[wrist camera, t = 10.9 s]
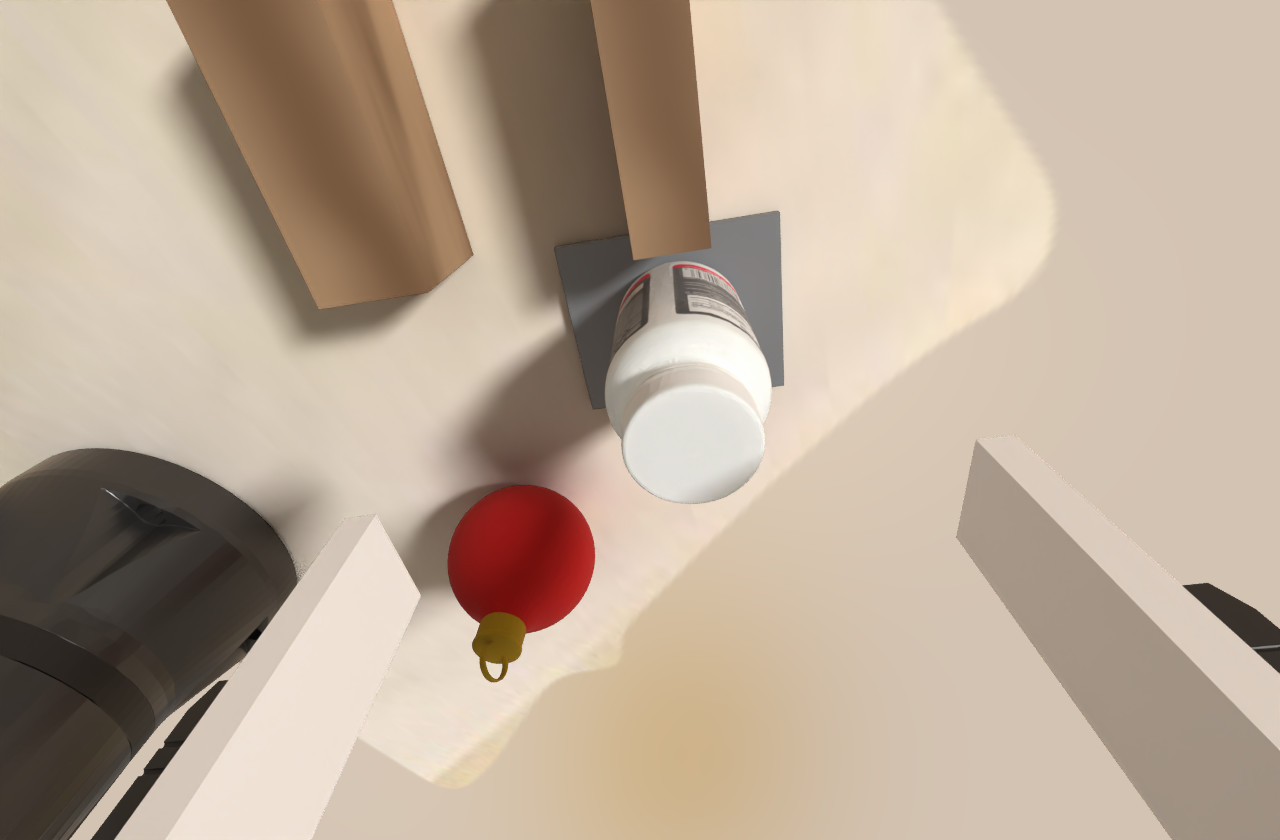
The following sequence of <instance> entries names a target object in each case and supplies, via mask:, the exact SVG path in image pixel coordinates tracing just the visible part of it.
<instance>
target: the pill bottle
mask: <svg viewBox="0 0 1280 840" xmlns="http://www.w3.org/2000/svg"><path fill="white" fill-rule="evenodd" d="M771 395H772V385H771V378H770V372H769V368H768V365H767V362H766V359H765V356H764V354H763V353H762V351H761V349H760V347H759V344H758V342H757V339H756V337H755V335H754V332H753V330H752V327H751V325H750V322H749V320H748V318H747V315H746V313H745V310H744V308H743V305H742V303H741V301H740V299H739V297H738V295H737V293H736V291H735V289H734V288H733V286H732V285H731V284H730V282H729V281H728V280H727V279H726V278H725V277H724V276H723V275H721V274H720V273H719V272H717V271H716V270H714V269H712V268H710V267H708V266H705V265H703V264H700V263H695V262H688V261H677V262H669V263H665V264H662V265H659V266H657V267H655V268H652V269H650V270H649V271H647V272H646V273H644V274H643V275H641V276H640V277H639V278H638V279H637V280H636V281H635V282H634V283H633V284H632V285H631V287H630V288H629V290H628V291H627V292H626V294H625V296H624V298H623V301H622V303H621V306H620V309H619V313H618V317H617V322H616V327H615V333H614V339H613V346H612V352H611V357H610V362H609V366H608V371H607V376H606V383H605V403H606V409H607V413H608V417H609V419H610V422H611V424H612V426H613V428H614V430H615V432H616V433H617V435H618V436H619V437H620V438H621V440H622V442H621V446H622V454H623V459H624V462H625V465H626V467H627V469H628V471H629V473H630V474H631V476H632V477H633V478H634V480H635V481H636V482H637V483H638V484H639V485H640V486H641V487H642V488H644V489H645V490H647V491H648V492H649V493H651V494H653V495H655V496H657V497H659V498H661V499H664V500H667V501H671V502H675V503H684V504H698V503H706V502H711V501H715V500H718V499H721V498H724V497H726V496H728V495H730V494H731V493H733V492H735V491H737V490H738V489H739V488H741V487H742V486H743V485H744V484H745V483H747V482H748V481H749V479H750V478H751V477H752V476H753V475H754V473H755V472H756V470H757V469H758V467H759V465H760V463H761V460H762V458H763V454H764V448H765V435H764V429H763V424H764V422H765V419H766V417H767V415H768V412H769V408H770V403H771Z"/></svg>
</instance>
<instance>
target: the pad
mask: <svg viewBox="0 0 1280 840" xmlns="http://www.w3.org/2000/svg"><path fill="white" fill-rule="evenodd" d="M709 225H710V236H711V247H712V248H710V249H703V250H697V251H690V252H684V253H677V254H671V255H665V256H658V257H652V258H645V259H639V260H633V254H632V248H631V242H630V236H629V235H624V236H618V237H612V238H606V239H600V240H593V241H587V242H581V243H575V244H569V245H562V246H556V247H555V248H554V250H555V254H556V259H557V263H558V267H559V271H560V275H561V279H562V284H563V288H564V292H565V296H566V300H567V304H568V309H569V313H570V317H571V321H572V325H573V329H574V334H575V338H576V342H577V346H578V350H579V354H580V358H581V363H582V367H583V371H584V375H585V379H586V383H587V388H588V392H589V396H590V400H591V404H592V408H593V409H601V408H606V403H605V383H606V376H607V371H608V366H609V362H610V357H611V352H612V346H613V339H614V333H615V327H616V322H617V317H618V313H619V309H620V306H621V303H622V301H623V298H624V296H625V294H626V292H627V291H628V290H629V288H630V287H631V285H632V284H633V283H634V282H635V281H636V280H637V279H638V278H639V277H640V276H641V275H643V274H644V273H646V272H647V271H649V270H650V269H652V268H655V267H657V266H659V265H662V264H665V263H669V262H677V261H688V262H695V263H700V264H703V265H705V266H708V267H710V268H712V269H714V270H716V271H717V272H719V273H720V274H721V275H723V276H724V277H725V278H726V279H727V280H728V281H729V282H730V284H731V285H732V286H733V288H734V289H735V291H736V293H737V295H738V297H739V299H740V301H741V303H742V305H743V308H744V310H745V313H746V315H747V318H748V320H749V322H750V325H751V327H752V330H753V332H754V335H755V337H756V339H757V342H758V344H759V347H760V349H761V351H762V353H763V354H764V356H765V359H766V362H767V365H768V368H769V372H770V378H771V385H772V387H776V386H784V364H783V322H782V280H781V238H780V212H779V211H773V212H767V213H760V214H754V215H748V216H742V217H736V218H729V219H723V220H717V221H711V222H709Z"/></svg>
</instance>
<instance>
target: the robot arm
mask: <svg viewBox="0 0 1280 840" xmlns="http://www.w3.org/2000/svg"><path fill="white" fill-rule="evenodd" d="M956 538H957V539H958V540H959V542H960V543H961V545H962V546H963V547H964V549H965V550H966V552H967V553H968V554H969V556H970V557H971V559H972V560H973V561H974V563H975V564H976V566H977V567H978V568H979V570H980V571H981V573H982V574H983V575H984V577H985V578H986V579H987V581H988V582H989V584H990V585H991V587H992V588H993V589H994V591H995V592H996V594H997V595H998V596H999V598H1000V599H1001V601H1002V602H1003V603H1004V605H1005V606H1006V608H1007V609H1008V610H1009V612H1010V613H1011V614H1012V616H1013V617H1014V619H1015V620H1016V622H1017V623H1018V624H1019V626H1020V627H1021V629H1022V630H1023V631H1024V633H1025V634H1026V636H1027V637H1028V638H1029V640H1030V641H1031V643H1032V644H1033V645H1034V647H1035V648H1036V650H1037V651H1038V652H1039V654H1040V655H1041V657H1042V658H1043V659H1044V661H1045V662H1046V664H1047V665H1048V666H1049V668H1050V669H1051V671H1052V672H1053V673H1054V675H1055V676H1056V678H1057V679H1058V680H1059V682H1060V683H1061V684H1062V686H1063V687H1064V689H1065V690H1066V691H1067V693H1068V694H1069V696H1070V697H1071V699H1072V700H1073V701H1074V703H1075V704H1076V706H1077V707H1078V708H1079V710H1080V711H1081V713H1082V714H1083V715H1084V717H1085V718H1086V720H1087V721H1088V722H1089V724H1090V725H1091V727H1092V728H1093V730H1094V731H1095V732H1096V734H1097V735H1098V736H1099V738H1100V739H1101V741H1102V742H1103V743H1104V745H1105V746H1106V748H1107V749H1108V750H1109V752H1110V753H1111V755H1112V756H1113V757H1114V759H1115V760H1116V762H1117V763H1118V764H1119V766H1120V767H1121V769H1122V770H1123V772H1124V773H1125V774H1126V776H1127V777H1128V779H1129V780H1130V781H1131V783H1132V784H1133V786H1134V787H1135V788H1136V790H1137V791H1138V793H1139V794H1140V795H1141V797H1142V798H1143V799H1144V801H1145V802H1146V804H1147V805H1148V807H1149V808H1150V809H1151V811H1152V812H1153V814H1154V815H1155V816H1156V818H1157V819H1158V821H1159V822H1160V823H1161V825H1162V826H1163V828H1164V829H1165V830H1166V832H1167V833H1168V835H1169V836H1170V837H1171V839H1172V840H1280V629H1279V628H1278V627H1277V626H1275V625H1274V624H1273V623H1272V622H1271V621H1269V620H1268V619H1267V618H1266V617H1264V616H1263V615H1262V614H1261V613H1260V612H1258V611H1257V610H1256V609H1254V608H1253V607H1251V606H1249V605H1247V604H1245V603H1243V602H1242V601H1240V600H1238V599H1236V598H1235V597H1233V596H1231V595H1229V594H1227V593H1225V592H1224V591H1222V590H1220V589H1218V588H1216V587H1214V586H1213V585H1211V584H1209V583H1203V584H1193V585H1181V584H1180V583H1179V582H1177V581H1176V580H1175V579H1174V578H1173V577H1172V576H1171V575H1170V574H1169V573H1167V572H1166V571H1165V570H1164V569H1163V568H1162V567H1161V566H1160V565H1159V564H1158V563H1156V562H1155V561H1154V560H1153V559H1152V558H1151V557H1150V556H1149V555H1148V554H1146V553H1145V552H1144V551H1143V550H1142V549H1141V548H1140V547H1139V546H1137V545H1136V544H1135V543H1134V542H1133V541H1132V540H1131V539H1130V538H1129V537H1128V536H1126V535H1125V534H1124V533H1123V532H1122V531H1121V530H1120V529H1119V528H1117V527H1116V526H1115V525H1114V524H1113V523H1112V522H1111V521H1110V520H1109V519H1108V518H1107V517H1105V516H1104V515H1103V514H1102V513H1101V512H1100V511H1099V510H1097V508H1095V507H1094V506H1093V505H1092V504H1091V503H1090V502H1089V501H1088V500H1087V499H1085V498H1084V497H1083V496H1082V495H1081V494H1080V493H1079V492H1078V491H1077V490H1075V489H1074V488H1073V487H1072V486H1071V485H1070V484H1069V483H1068V482H1067V481H1066V480H1064V479H1063V478H1062V477H1061V476H1060V475H1059V474H1058V473H1057V472H1056V471H1054V470H1053V469H1052V468H1051V467H1050V466H1049V465H1048V464H1047V463H1046V462H1044V461H1043V460H1042V459H1041V458H1040V457H1039V456H1038V455H1037V454H1036V453H1035V452H1033V451H1032V450H1031V449H1030V448H1029V447H1028V446H1027V445H1026V444H1025V443H1023V442H1022V441H1021V440H1020V439H1019V438H1018V437H1017V436H1016V435H1009V436H1001V437H993V438H986V439H978V440H976V442H975V447H974V452H973V457H972V462H971V467H970V472H969V477H968V482H967V487H966V491H965V496H964V501H963V506H962V511H961V516H960V522H959V526H958V531H957V536H956ZM420 597H421V595H420V593H419V591H418V589H417V587H416V586H415V584H414V582H413V580H412V578H411V577H410V575H409V573H408V571H407V569H406V567H405V566H404V564H403V562H402V560H401V558H400V557H399V555H398V553H397V551H396V549H395V548H394V546H393V544H392V542H391V540H390V539H389V537H388V535H387V533H386V531H385V529H384V528H383V526H382V524H381V522H380V520H379V519H378V517H377V515H376V514H375V515H367V516H359V517H351V518H345V519H344V520H343V521H342V523H341V524H340V526H339V527H338V528H337V530H336V531H335V533H334V534H333V535H332V537H331V538H330V539H329V541H328V542H327V544H326V545H325V546H324V548H323V549H322V551H321V552H320V553H319V555H318V556H317V558H316V559H315V560H314V562H313V563H312V565H311V566H310V567H309V569H308V570H307V572H306V573H305V574H304V576H303V577H302V579H301V580H300V581H299V583H298V584H297V577H296V571H295V567H294V564H293V562H292V559H291V557H290V555H289V553H288V551H287V549H286V547H285V546H284V544H283V543H282V541H281V540H280V538H279V537H278V536H277V534H276V533H275V532H274V531H273V530H272V528H271V527H270V526H269V525H268V524H267V523H266V522H265V521H264V520H263V519H262V518H261V517H260V516H259V515H258V514H257V513H256V512H255V511H254V510H252V509H251V508H250V507H249V506H248V505H246V504H245V503H244V502H242V501H241V500H240V499H239V498H237V497H236V496H234V495H233V494H231V493H230V492H228V491H227V490H225V489H224V488H222V487H221V486H219V485H217V484H215V483H214V482H212V481H210V480H208V479H206V478H204V477H202V476H201V475H199V474H196V473H194V472H192V471H190V470H188V469H185V468H183V467H180V466H178V465H175V464H173V463H170V462H167V461H164V460H161V459H158V458H155V457H151V456H147V455H143V454H139V453H134V452H129V451H122V450H114V449H99V448H95V449H79V450H72V451H67V452H63V453H60V454H57V455H54V456H52V457H50V458H48V459H46V460H44V461H43V462H41V463H39V464H37V465H36V466H34V467H32V468H31V469H29V470H27V471H26V472H24V473H22V474H20V475H19V476H17V477H15V478H14V479H12V480H10V481H9V482H7V483H6V484H4V485H3V486H2V487H1V488H0V840H69V839H70V838H71V837H72V835H73V834H74V833H75V832H76V830H77V829H78V828H79V827H80V825H81V824H82V823H83V821H84V820H85V819H86V818H87V816H88V815H89V813H90V812H91V811H92V810H93V809H94V807H95V806H96V805H97V803H98V802H99V801H100V799H101V798H102V797H103V796H104V794H105V793H106V792H107V791H108V789H109V788H110V787H111V785H112V784H113V783H114V782H115V780H116V779H117V778H118V776H119V775H120V774H121V773H122V771H123V770H124V769H125V767H126V766H127V765H128V763H129V762H130V761H131V760H132V758H133V757H134V756H135V755H136V754H137V752H138V751H139V750H140V749H141V747H142V746H143V744H145V742H146V741H147V740H148V739H149V737H150V736H151V735H152V734H153V732H154V731H155V730H156V729H157V728H158V726H159V725H160V724H161V723H162V722H163V721H164V720H165V719H166V718H167V717H168V716H169V715H170V714H172V713H173V712H174V711H175V710H177V709H178V708H180V707H181V706H182V705H184V704H185V703H186V702H187V701H189V700H190V699H191V698H193V697H194V696H195V695H196V694H198V693H199V692H200V691H202V690H203V689H204V688H206V687H207V686H208V685H209V684H211V683H212V682H213V681H215V680H216V679H217V678H218V677H220V676H221V675H222V674H224V673H225V672H226V671H228V670H229V669H230V668H231V667H233V666H234V665H235V664H236V663H238V662H239V661H240V660H242V659H243V658H244V657H245V656H246V657H245V658H244V659H243V661H242V662H241V664H240V665H239V667H238V668H237V669H236V671H235V672H234V674H233V675H232V676H231V678H230V679H229V680H224V681H219V682H218V683H217V684H215V685H214V686H213V687H212V688H211V689H210V690H209V691H208V692H207V693H206V694H205V695H204V696H203V697H202V698H200V699H199V700H198V701H197V702H196V703H195V704H194V705H193V706H192V707H191V708H190V709H189V710H188V711H187V712H186V713H185V715H184V716H183V717H182V719H181V720H180V722H179V723H178V724H177V725H176V727H175V728H174V729H173V731H172V732H171V734H170V735H169V736H168V738H167V739H166V740H165V741H164V743H165V745H164V747H163V748H162V749H158V751H157V752H156V753H155V755H154V756H153V757H152V759H151V760H150V761H149V763H148V764H147V765H146V767H145V768H144V774H143V775H142V776H139V777H138V778H137V779H136V780H135V781H134V783H133V784H132V785H131V787H130V788H129V790H128V791H127V792H126V794H125V795H124V796H123V798H122V799H121V800H120V802H119V803H118V804H117V806H116V807H115V808H114V810H113V811H112V812H111V814H110V815H109V816H108V818H107V819H106V820H105V822H104V823H103V824H102V826H101V827H100V828H99V830H98V831H97V832H96V834H95V835H94V836H93V838H92V839H91V840H311V839H312V837H313V834H314V832H315V830H316V828H317V826H318V823H319V821H320V819H321V817H322V814H323V812H324V810H325V808H326V806H327V803H328V801H329V799H330V797H331V794H332V792H333V790H334V788H335V786H336V783H337V781H338V779H339V777H340V775H341V772H342V770H343V768H344V766H345V763H346V761H347V759H348V757H349V755H350V752H351V750H352V748H353V746H354V743H355V741H356V739H357V737H358V735H359V732H360V730H361V728H362V726H363V724H364V721H365V719H366V717H367V715H368V712H369V710H370V708H371V706H372V704H373V701H374V699H375V697H376V695H377V692H378V690H379V688H380V686H381V684H382V681H383V679H384V677H385V675H386V672H387V670H388V668H389V666H390V664H391V661H392V659H393V657H394V655H395V653H396V650H397V648H398V646H399V644H400V641H401V639H402V637H403V635H404V633H405V630H406V628H407V626H408V624H409V621H410V619H411V617H412V615H413V613H414V610H415V608H416V606H417V604H418V601H419V599H420Z"/></svg>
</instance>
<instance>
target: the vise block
mask: <svg viewBox="0 0 1280 840" xmlns="http://www.w3.org/2000/svg"><path fill="white" fill-rule="evenodd" d="M166 1H167V3H168V5H169V7H170V9H171V11H172V13H173V15H174V17H175V19H176V21H177V23H178V25H179V27H180V29H181V31H182V33H183V35H184V37H185V39H186V41H187V43H188V45H189V47H190V49H191V51H192V53H193V55H194V57H195V59H196V61H197V64H198V66H199V68H200V70H201V72H202V74H203V76H204V78H205V80H206V82H207V84H208V86H209V88H210V90H211V92H212V94H213V96H214V98H215V100H216V102H217V104H218V106H219V108H220V110H221V112H222V114H223V116H224V118H225V120H226V122H227V124H228V126H229V128H230V130H231V132H232V134H233V136H234V138H235V140H236V143H237V145H238V147H239V149H240V151H241V153H242V155H243V157H244V159H245V161H246V163H247V165H248V167H249V169H250V171H251V173H252V175H253V177H254V179H255V181H256V183H257V185H258V187H259V189H260V191H261V193H262V195H263V197H264V199H265V201H266V203H267V205H268V207H269V209H270V211H271V213H272V215H273V217H274V219H275V222H276V224H277V226H278V228H279V230H280V232H281V234H282V236H283V238H284V240H285V242H286V244H287V246H288V248H289V250H290V252H291V254H292V256H293V258H294V260H295V262H296V264H297V266H298V268H299V270H300V272H301V274H302V276H303V278H304V280H305V282H306V284H307V286H308V288H309V290H310V292H311V294H312V296H313V298H314V301H315V303H316V305H317V307H318V309H325V308H331V307H338V306H344V305H351V304H357V303H363V302H370V301H376V300H383V299H389V298H395V297H402V296H408V295H415V294H421V293H427V292H429V291H431V290H432V289H433V288H434V287H435V286H437V285H438V284H439V283H440V282H441V281H443V280H444V279H445V278H446V277H447V276H449V275H450V274H451V273H452V272H453V271H455V270H456V269H457V268H458V267H459V266H461V265H462V264H463V263H464V262H465V261H467V260H468V259H469V258H470V257H471V256H473V252H472V249H471V246H470V243H469V240H468V237H467V233H466V230H465V227H464V224H463V221H462V218H461V215H460V211H459V208H458V205H457V202H456V199H455V196H454V193H453V190H452V186H451V183H450V180H449V177H448V174H447V171H446V168H445V164H444V161H443V158H442V155H441V152H440V149H439V146H438V143H437V139H436V136H435V133H434V130H433V127H432V124H431V121H430V118H429V114H428V111H427V108H426V105H425V102H424V99H423V96H422V92H421V89H420V86H419V83H418V80H417V77H416V74H415V71H414V67H413V64H412V61H411V58H410V55H409V52H408V49H407V46H406V42H405V39H404V36H403V33H402V30H401V27H400V24H399V20H398V17H397V14H396V11H395V8H394V5H393V2H392V0H166ZM590 1H591V7H592V13H593V19H594V25H595V31H596V37H597V43H598V49H599V55H600V61H601V67H602V73H603V79H604V85H605V91H606V97H607V103H608V109H609V115H610V121H611V127H612V133H613V139H614V145H615V151H616V157H617V163H618V169H619V175H620V181H621V187H622V193H623V199H624V205H625V211H626V217H627V224H628V230H629V236H630V242H631V248H632V254H633V260H639V259H645V258H652V257H658V256H665V255H671V254H677V253H684V252H690V251H697V250H703V249H710V248H712V247H711V236H710V225H709V214H708V203H707V192H706V181H705V170H704V158H703V147H702V136H701V125H700V114H699V103H698V92H697V81H696V69H695V58H694V47H693V36H692V25H691V14H690V3H689V0H590Z"/></svg>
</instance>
